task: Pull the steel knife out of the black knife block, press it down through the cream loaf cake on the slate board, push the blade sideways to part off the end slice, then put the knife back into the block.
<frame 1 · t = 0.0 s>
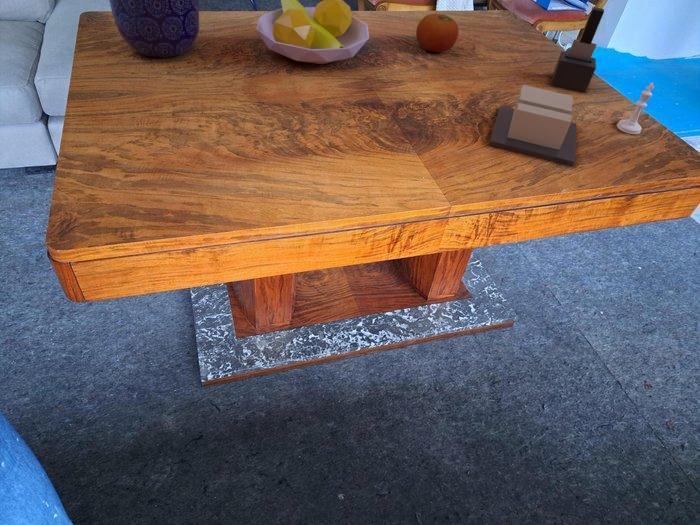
knife block: (568, 83, 122), on the table
fruit: (433, 50, 131), on the table
planter: (162, 48, 117), on the table
chess piece: (628, 129, 109), on the table
cake board: (533, 136, 103), on the table
fruit bowl: (311, 50, 124), on the table
cake: (536, 124, 104), point 1 cm above the table, touching cake board
knife: (582, 48, 116), in the knife block
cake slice: (533, 140, 99), point 1 cm above the table, touching cake board
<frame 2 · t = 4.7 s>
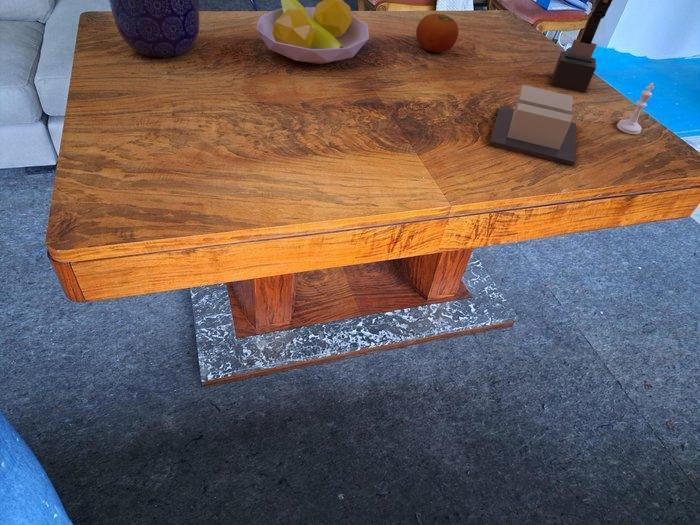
hand: (589, 32, 114), 12 cm above the table, tool pointing down, fingers closed on knife, 2 cm apart
knife: (582, 48, 116), in the knife block, touching gripper
everything else where it was.
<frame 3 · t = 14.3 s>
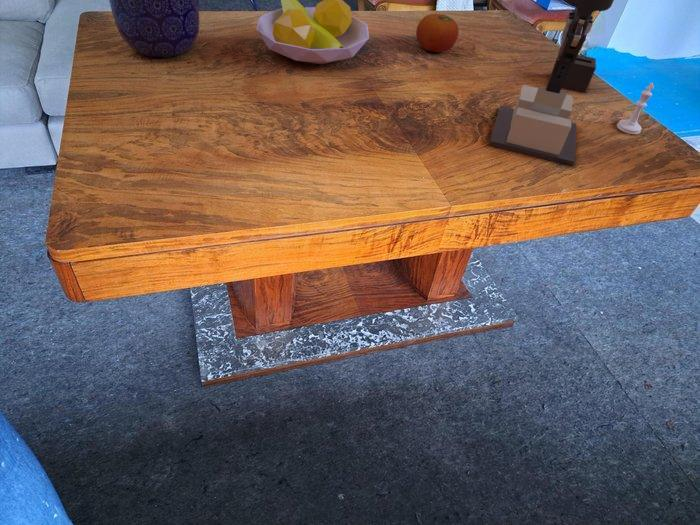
hand: (557, 78, 90), 14 cm above the table, tool pointing down, fingers closed on knife, 2 cm apart
knife: (549, 97, 93), point 10 cm above the table, touching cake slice, gripper
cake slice: (533, 145, 98), point 1 cm above the table, touching cake board, knife
everything else where it was.
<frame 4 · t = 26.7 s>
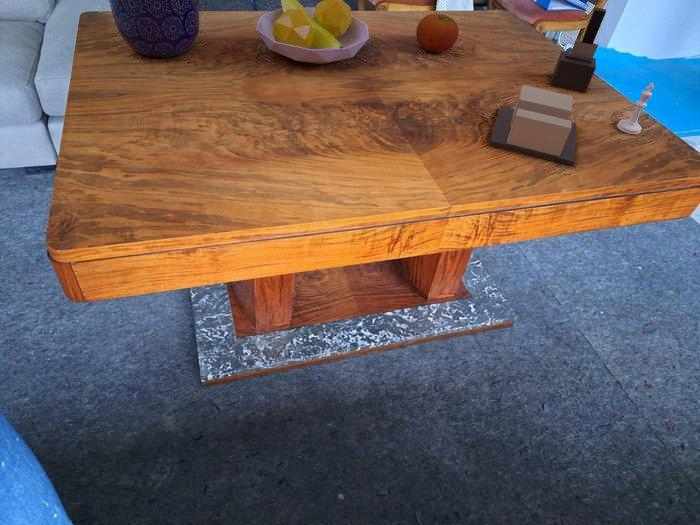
knife: (584, 48, 116), in the knife block
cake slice: (533, 146, 98), point 1 cm above the table, touching cake board
everything else where it was.
at the end: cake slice moved 2.4 cm from its start; cake moved 0.0 cm from its start; knife 0.4 cm off-centre on the knife block, point 8.5 cm above the knife block's base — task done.
